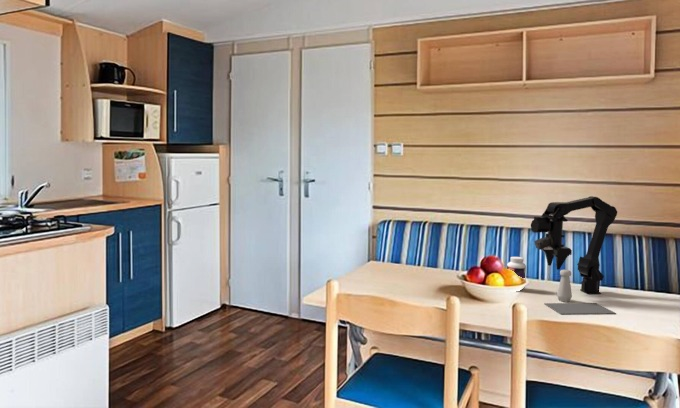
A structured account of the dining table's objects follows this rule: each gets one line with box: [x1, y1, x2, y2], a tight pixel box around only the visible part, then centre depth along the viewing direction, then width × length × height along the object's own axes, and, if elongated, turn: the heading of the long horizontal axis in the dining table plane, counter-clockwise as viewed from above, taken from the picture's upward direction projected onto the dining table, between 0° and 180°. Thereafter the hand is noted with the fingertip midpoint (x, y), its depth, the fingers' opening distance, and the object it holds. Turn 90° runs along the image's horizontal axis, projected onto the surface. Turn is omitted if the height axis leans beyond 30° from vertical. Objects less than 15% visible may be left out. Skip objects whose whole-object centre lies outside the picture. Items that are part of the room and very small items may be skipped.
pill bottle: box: [506, 256, 527, 291], centre depth 245 cm, size 8×8×14 cm
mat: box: [543, 302, 617, 316], centre depth 216 cm, size 22×14×1 cm, turn 95°
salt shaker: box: [556, 269, 573, 303], centre depth 228 cm, size 6×6×13 cm
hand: (553, 267), depth 237 cm, fingers open, 8 cm apart
